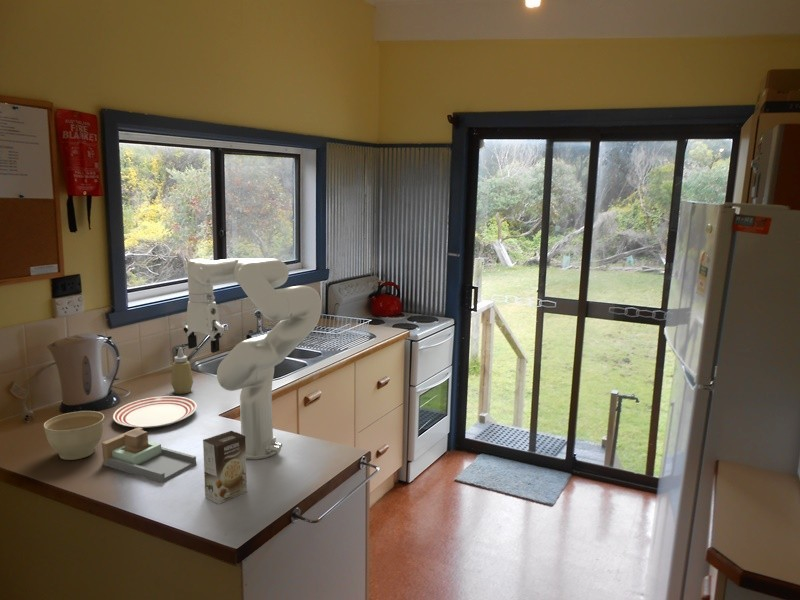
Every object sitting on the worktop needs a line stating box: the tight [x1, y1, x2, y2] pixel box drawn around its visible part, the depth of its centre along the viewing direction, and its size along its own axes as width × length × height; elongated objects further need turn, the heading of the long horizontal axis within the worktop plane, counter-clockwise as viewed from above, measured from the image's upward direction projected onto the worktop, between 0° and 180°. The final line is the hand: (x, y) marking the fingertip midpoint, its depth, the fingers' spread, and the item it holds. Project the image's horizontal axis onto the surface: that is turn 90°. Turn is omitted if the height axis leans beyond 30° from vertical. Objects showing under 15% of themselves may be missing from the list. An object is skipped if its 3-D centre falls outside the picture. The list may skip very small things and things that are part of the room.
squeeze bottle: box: [170, 347, 194, 395], centre depth 241 cm, size 8×8×18 cm
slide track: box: [101, 427, 197, 484], centre depth 180 cm, size 24×13×7 cm, turn 64°
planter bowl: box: [43, 410, 105, 461], centre depth 186 cm, size 16×16×11 cm
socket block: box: [112, 440, 162, 465], centre depth 182 cm, size 9×10×3 cm
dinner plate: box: [112, 395, 198, 429], centre depth 216 cm, size 28×27×3 cm
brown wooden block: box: [124, 428, 149, 454], centre depth 182 cm, size 4×4×7 cm
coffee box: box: [202, 430, 248, 505], centre depth 162 cm, size 9×6×16 cm
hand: (203, 349), depth 199 cm, fingers open, 9 cm apart
